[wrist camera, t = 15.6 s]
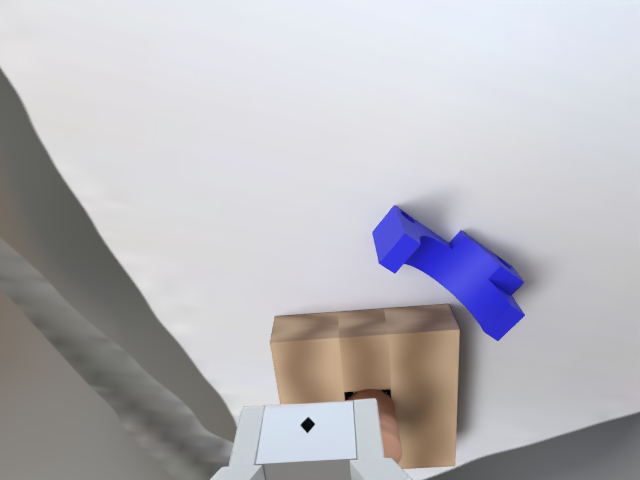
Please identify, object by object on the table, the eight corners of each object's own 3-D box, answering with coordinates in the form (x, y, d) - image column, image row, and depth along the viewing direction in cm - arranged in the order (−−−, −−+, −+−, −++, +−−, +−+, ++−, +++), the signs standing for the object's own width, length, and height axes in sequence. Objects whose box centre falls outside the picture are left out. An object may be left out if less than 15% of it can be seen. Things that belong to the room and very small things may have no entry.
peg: (389, 362, 45) (401, 431, 38) (390, 399, 47) (403, 472, 40) (341, 365, 46) (344, 434, 38) (344, 401, 48) (348, 475, 40)
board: (448, 303, 43) (459, 329, 40) (445, 433, 50) (455, 466, 46) (274, 316, 44) (270, 342, 40) (294, 442, 51) (292, 474, 47)
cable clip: (511, 265, 42) (539, 301, 36) (476, 301, 43) (497, 341, 38) (405, 190, 39) (418, 217, 34) (372, 231, 41) (379, 263, 35)
